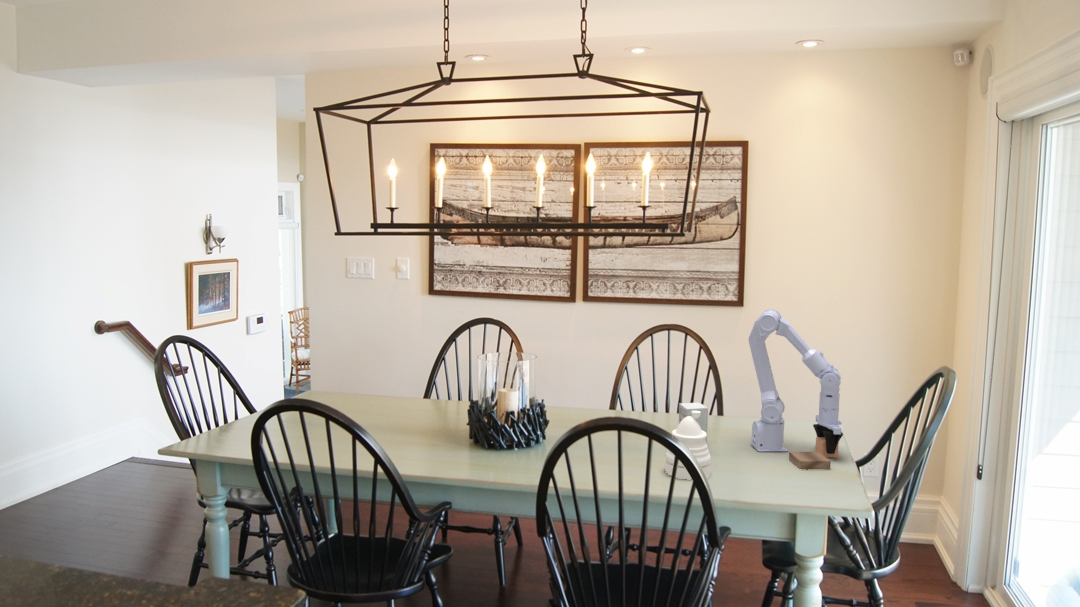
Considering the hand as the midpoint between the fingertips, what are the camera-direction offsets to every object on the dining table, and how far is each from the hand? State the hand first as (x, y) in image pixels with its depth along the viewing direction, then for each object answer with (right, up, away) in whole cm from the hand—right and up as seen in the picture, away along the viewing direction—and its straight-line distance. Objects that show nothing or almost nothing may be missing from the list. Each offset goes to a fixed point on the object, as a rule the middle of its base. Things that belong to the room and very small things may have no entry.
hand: (826, 450), depth 237 cm
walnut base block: (-9, -3, -9) cm, 13 cm away
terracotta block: (0, -2, 0) cm, 2 cm away
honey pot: (-46, -3, -16) cm, 49 cm away
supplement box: (-39, 0, +12) cm, 41 cm away
